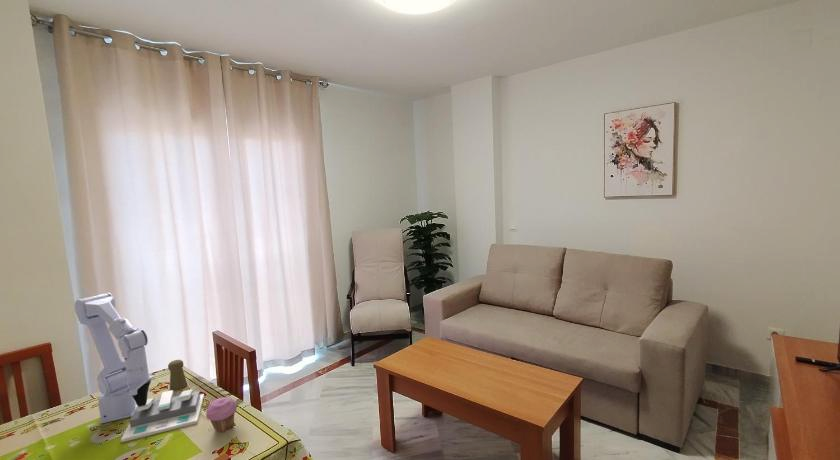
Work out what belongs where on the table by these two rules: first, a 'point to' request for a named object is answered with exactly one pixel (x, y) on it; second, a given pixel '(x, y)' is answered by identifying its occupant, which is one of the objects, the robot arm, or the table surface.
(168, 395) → the middle switch
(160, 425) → the switch board
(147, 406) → the left switch
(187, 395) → the right switch
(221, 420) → the cupcake
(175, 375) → the cork
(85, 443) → the table surface
